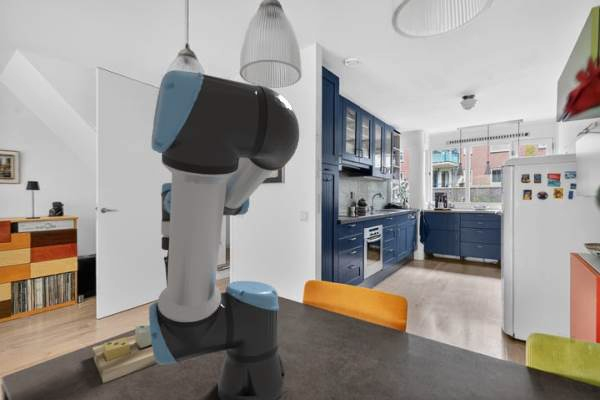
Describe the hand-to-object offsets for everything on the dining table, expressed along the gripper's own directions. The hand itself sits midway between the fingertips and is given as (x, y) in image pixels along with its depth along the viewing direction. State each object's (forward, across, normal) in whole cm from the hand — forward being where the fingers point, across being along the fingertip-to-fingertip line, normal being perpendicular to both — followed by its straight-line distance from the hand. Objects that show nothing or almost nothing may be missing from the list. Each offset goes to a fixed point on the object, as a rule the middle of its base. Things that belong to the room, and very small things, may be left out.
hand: (175, 315), depth 84 cm
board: (+8, +1, +7) cm, 11 cm away
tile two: (+5, +1, +7) cm, 9 cm away
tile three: (+7, +1, +15) cm, 17 cm away
